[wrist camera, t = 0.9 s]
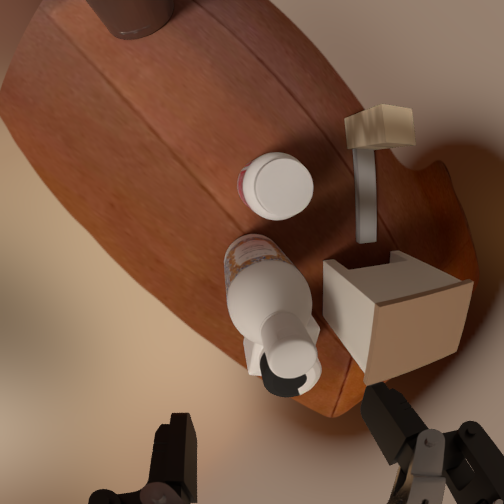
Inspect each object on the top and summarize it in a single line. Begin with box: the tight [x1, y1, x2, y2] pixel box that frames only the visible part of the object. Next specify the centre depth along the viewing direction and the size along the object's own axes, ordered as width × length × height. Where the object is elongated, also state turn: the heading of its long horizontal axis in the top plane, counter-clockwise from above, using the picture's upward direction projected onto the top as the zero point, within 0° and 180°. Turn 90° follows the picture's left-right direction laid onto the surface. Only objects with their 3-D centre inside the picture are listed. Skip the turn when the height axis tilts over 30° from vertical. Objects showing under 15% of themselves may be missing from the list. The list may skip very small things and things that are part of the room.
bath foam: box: [224, 234, 317, 378], centre depth 25 cm, size 7×7×20 cm
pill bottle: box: [237, 152, 313, 220], centre depth 27 cm, size 6×6×11 cm
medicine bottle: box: [243, 315, 321, 397], centre depth 31 cm, size 7×7×12 cm
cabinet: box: [323, 250, 474, 386], centre depth 30 cm, size 9×13×15 cm
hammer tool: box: [344, 104, 416, 244], centre depth 29 cm, size 16×4×9 cm, turn 5°
